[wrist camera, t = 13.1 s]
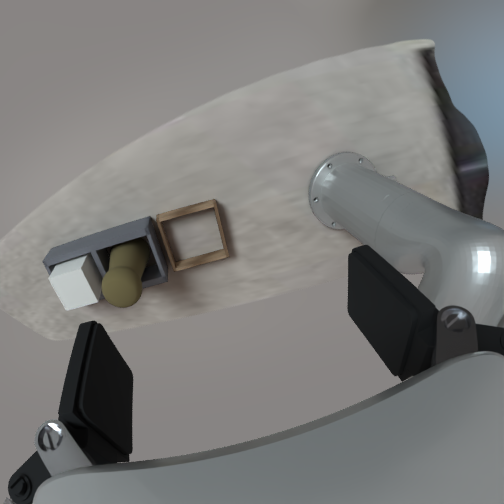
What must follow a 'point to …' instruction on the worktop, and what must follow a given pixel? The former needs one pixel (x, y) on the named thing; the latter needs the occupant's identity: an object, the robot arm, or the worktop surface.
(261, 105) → the worktop surface
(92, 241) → the grey divided tray
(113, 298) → the cork
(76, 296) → the white block
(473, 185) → the worktop surface
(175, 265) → the wooden square frame
